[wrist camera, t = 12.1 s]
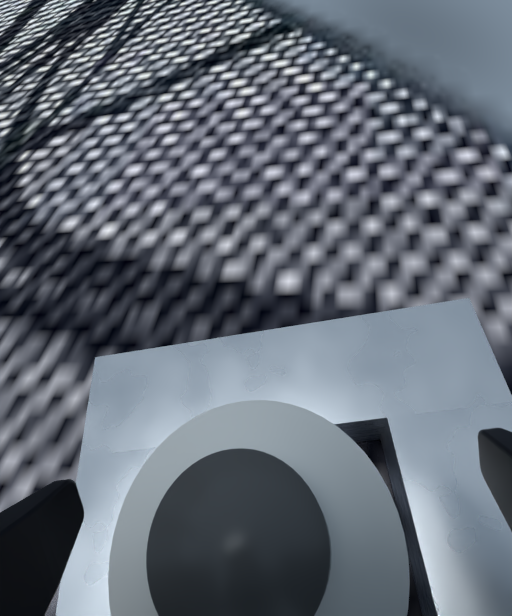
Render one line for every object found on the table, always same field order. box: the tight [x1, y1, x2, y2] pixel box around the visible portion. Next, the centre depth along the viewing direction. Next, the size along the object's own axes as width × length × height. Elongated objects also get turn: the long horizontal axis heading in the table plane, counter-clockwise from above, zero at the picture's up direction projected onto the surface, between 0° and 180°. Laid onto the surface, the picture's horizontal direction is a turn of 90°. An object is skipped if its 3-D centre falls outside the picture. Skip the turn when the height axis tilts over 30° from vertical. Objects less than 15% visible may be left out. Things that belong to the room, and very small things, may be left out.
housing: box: [56, 298, 512, 616], centre depth 13 cm, size 15×15×3 cm
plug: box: [108, 400, 410, 616], centre depth 10 cm, size 4×4×11 cm
